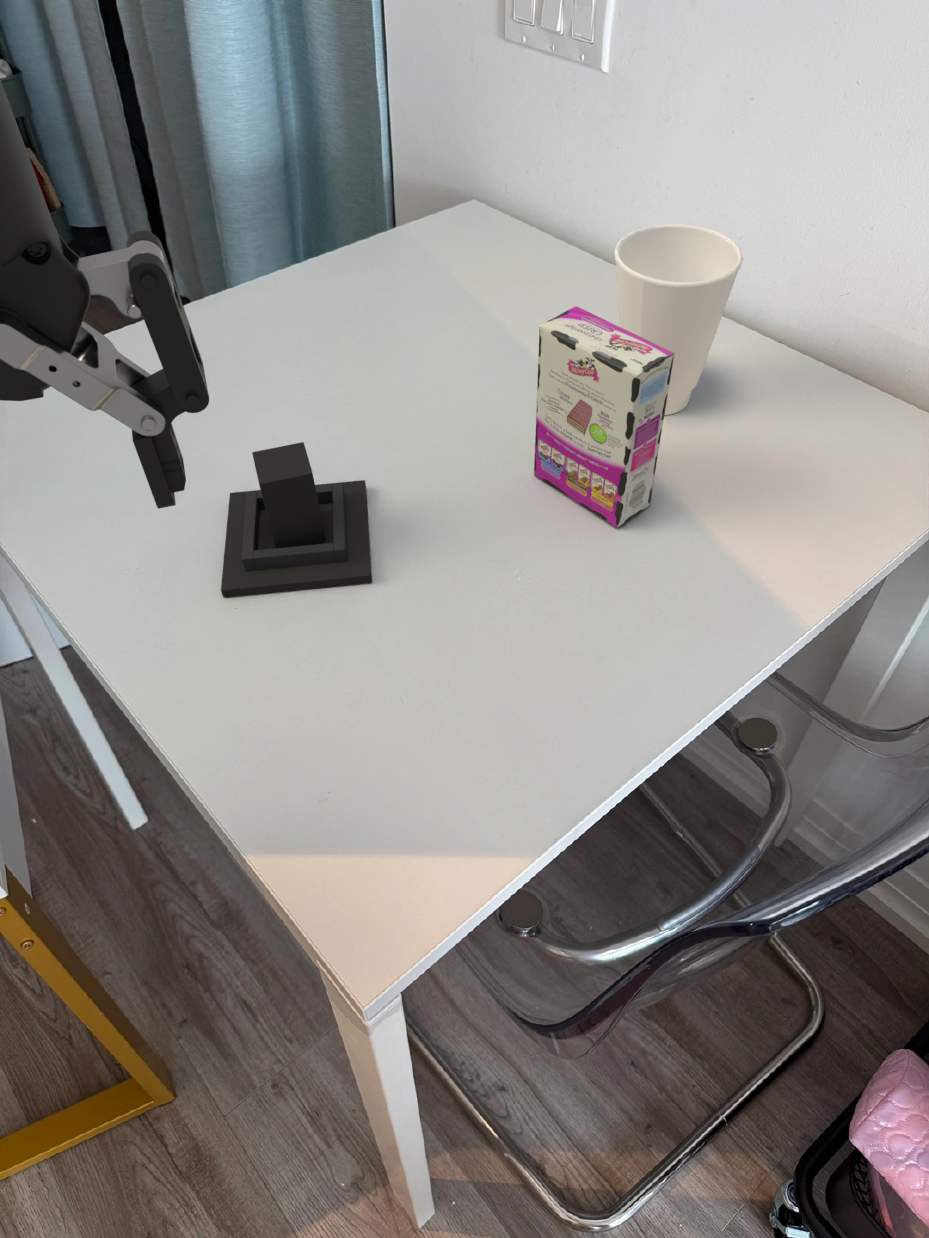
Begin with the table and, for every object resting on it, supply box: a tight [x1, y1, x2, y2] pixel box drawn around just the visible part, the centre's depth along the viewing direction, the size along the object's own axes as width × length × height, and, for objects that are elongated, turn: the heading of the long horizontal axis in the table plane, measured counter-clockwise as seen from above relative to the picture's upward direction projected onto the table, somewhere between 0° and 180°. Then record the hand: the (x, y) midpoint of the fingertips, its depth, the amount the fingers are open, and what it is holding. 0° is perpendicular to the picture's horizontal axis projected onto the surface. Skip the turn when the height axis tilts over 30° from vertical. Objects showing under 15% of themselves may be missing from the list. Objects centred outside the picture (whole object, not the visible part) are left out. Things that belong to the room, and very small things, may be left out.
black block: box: [252, 441, 326, 548], centre depth 80 cm, size 4×4×8 cm
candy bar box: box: [533, 305, 675, 528], centre depth 81 cm, size 11×5×16 cm, turn 43°
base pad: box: [220, 479, 373, 598], centre depth 83 cm, size 13×13×2 cm
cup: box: [614, 223, 744, 416], centre depth 91 cm, size 12×12×16 cm
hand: (59, 516), depth 37 cm, fingers open, 8 cm apart
